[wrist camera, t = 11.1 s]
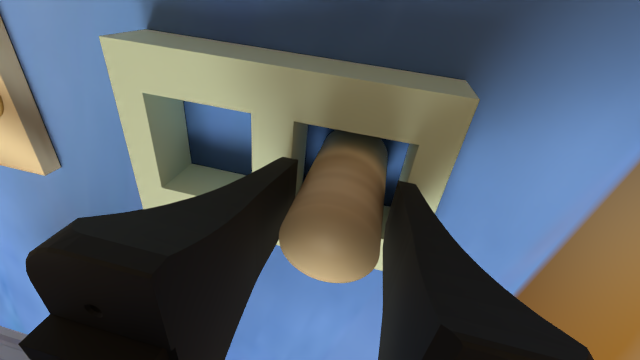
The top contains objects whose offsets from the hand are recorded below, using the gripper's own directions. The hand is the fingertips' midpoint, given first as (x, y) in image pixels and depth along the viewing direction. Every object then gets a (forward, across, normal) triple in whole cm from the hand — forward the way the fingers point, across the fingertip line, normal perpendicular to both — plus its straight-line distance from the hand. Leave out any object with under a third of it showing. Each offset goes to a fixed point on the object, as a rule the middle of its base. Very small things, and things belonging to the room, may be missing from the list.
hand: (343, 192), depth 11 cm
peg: (+3, 0, 0) cm, 3 cm away
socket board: (+3, +3, 0) cm, 4 cm away
